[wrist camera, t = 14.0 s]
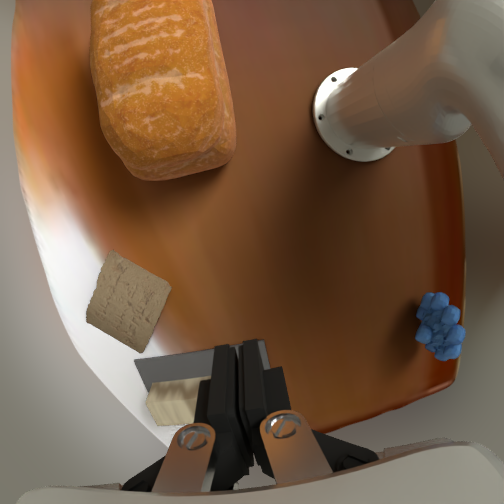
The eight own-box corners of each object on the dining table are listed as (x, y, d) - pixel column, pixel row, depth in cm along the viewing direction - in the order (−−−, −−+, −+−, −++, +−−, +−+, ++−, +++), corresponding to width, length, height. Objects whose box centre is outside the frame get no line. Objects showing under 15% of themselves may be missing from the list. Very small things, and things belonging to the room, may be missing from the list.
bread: (209, -12, 31) (198, -78, 17) (243, 164, 38) (247, 161, 23) (115, 14, 31) (69, -37, 17) (139, 187, 38) (87, 200, 24)
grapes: (392, 287, 43) (434, 323, 32) (429, 271, 43) (476, 302, 31) (400, 349, 46) (434, 391, 35) (434, 333, 46) (472, 370, 34)
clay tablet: (113, 244, 40) (105, 249, 38) (178, 278, 42) (174, 285, 39) (86, 325, 43) (79, 333, 41) (142, 355, 45) (138, 365, 42)
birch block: (225, 394, 40) (145, 402, 40) (233, 418, 42) (157, 425, 42) (226, 373, 45) (152, 382, 45) (234, 397, 46) (163, 405, 46)
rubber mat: (263, 339, 44) (263, 340, 44) (279, 407, 48) (279, 409, 47) (134, 359, 44) (134, 360, 44) (164, 422, 48) (164, 424, 48)
